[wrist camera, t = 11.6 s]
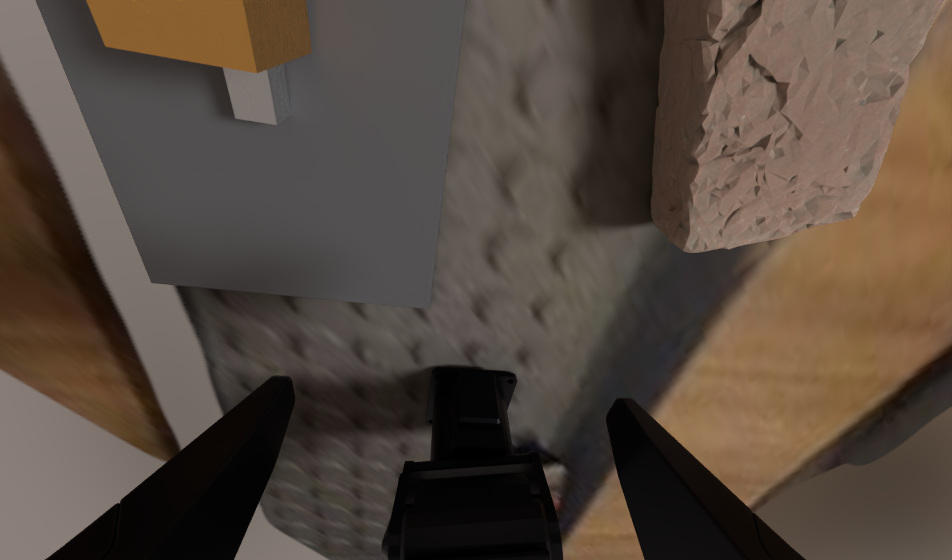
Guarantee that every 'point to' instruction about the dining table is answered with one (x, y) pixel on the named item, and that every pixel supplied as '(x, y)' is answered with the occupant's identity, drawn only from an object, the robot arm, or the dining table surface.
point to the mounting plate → (282, 154)
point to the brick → (775, 113)
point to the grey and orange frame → (217, 42)
